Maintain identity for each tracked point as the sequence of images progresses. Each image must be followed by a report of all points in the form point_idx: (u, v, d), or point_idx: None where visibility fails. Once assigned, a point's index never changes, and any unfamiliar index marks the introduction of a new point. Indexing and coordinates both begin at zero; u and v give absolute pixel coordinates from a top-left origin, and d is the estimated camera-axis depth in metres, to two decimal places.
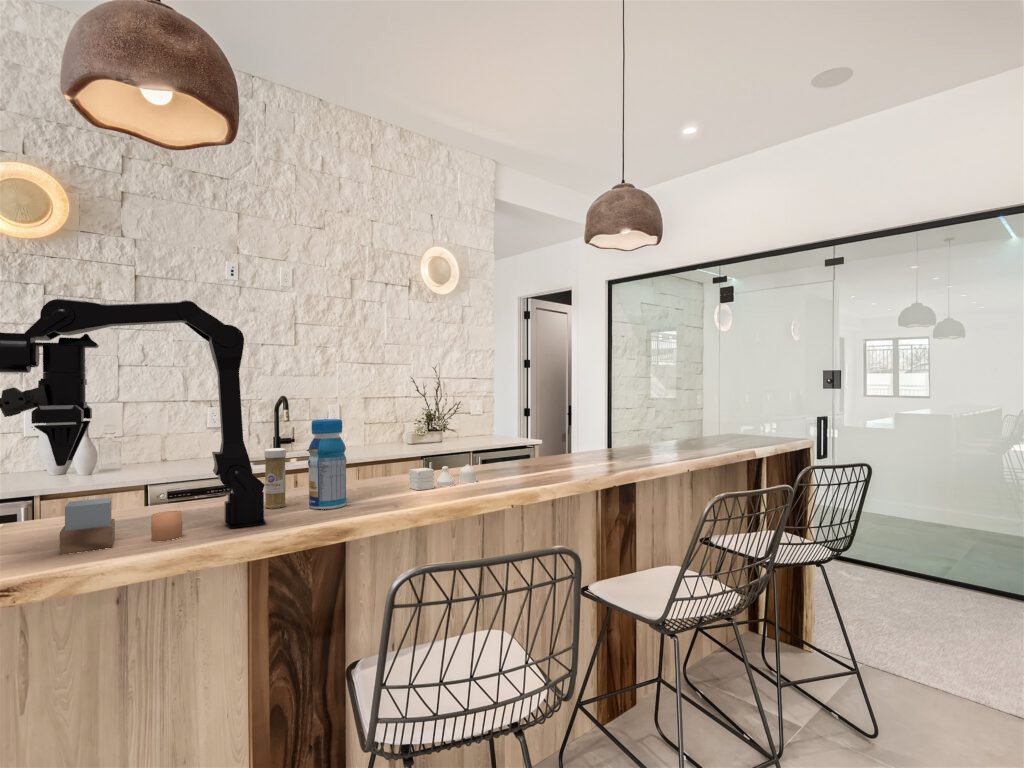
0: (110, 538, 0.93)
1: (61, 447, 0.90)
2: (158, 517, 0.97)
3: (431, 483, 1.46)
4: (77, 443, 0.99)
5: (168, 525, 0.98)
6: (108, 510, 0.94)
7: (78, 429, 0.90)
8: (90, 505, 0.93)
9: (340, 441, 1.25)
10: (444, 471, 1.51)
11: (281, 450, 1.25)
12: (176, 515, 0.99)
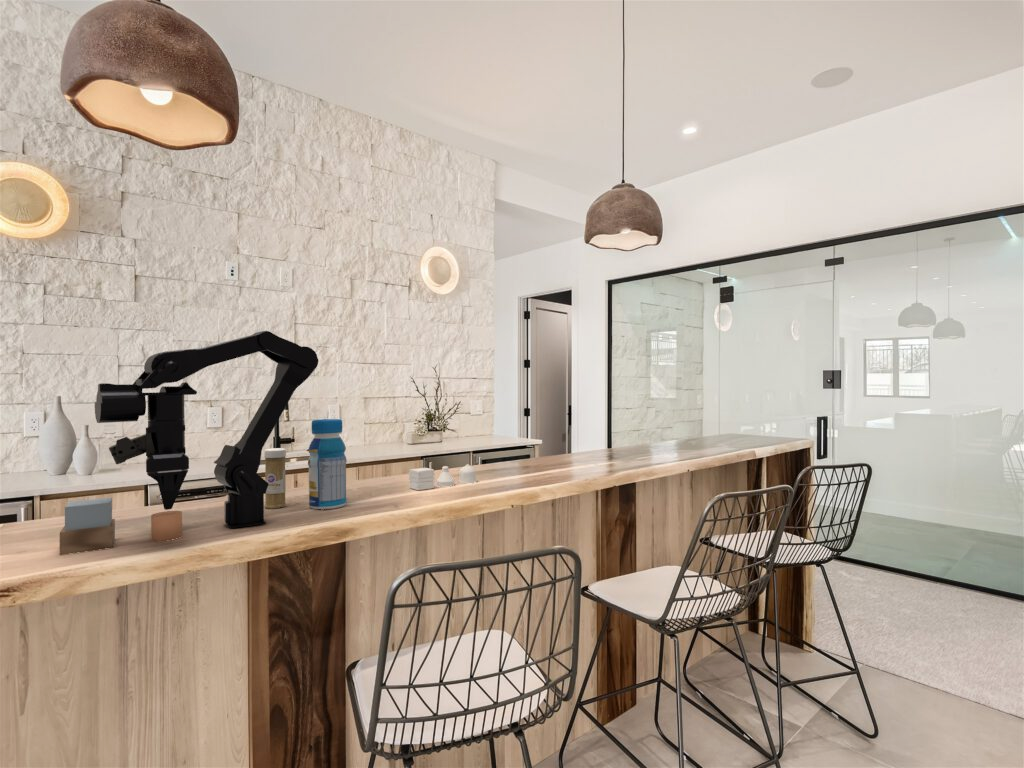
0: (110, 538, 0.93)
1: (169, 492, 0.95)
2: (158, 517, 0.97)
3: (431, 483, 1.46)
4: None
5: (168, 525, 0.98)
6: (108, 510, 0.94)
7: (184, 475, 0.96)
8: (90, 505, 0.93)
9: (340, 441, 1.25)
10: (444, 471, 1.51)
11: (281, 450, 1.25)
12: (176, 515, 0.99)
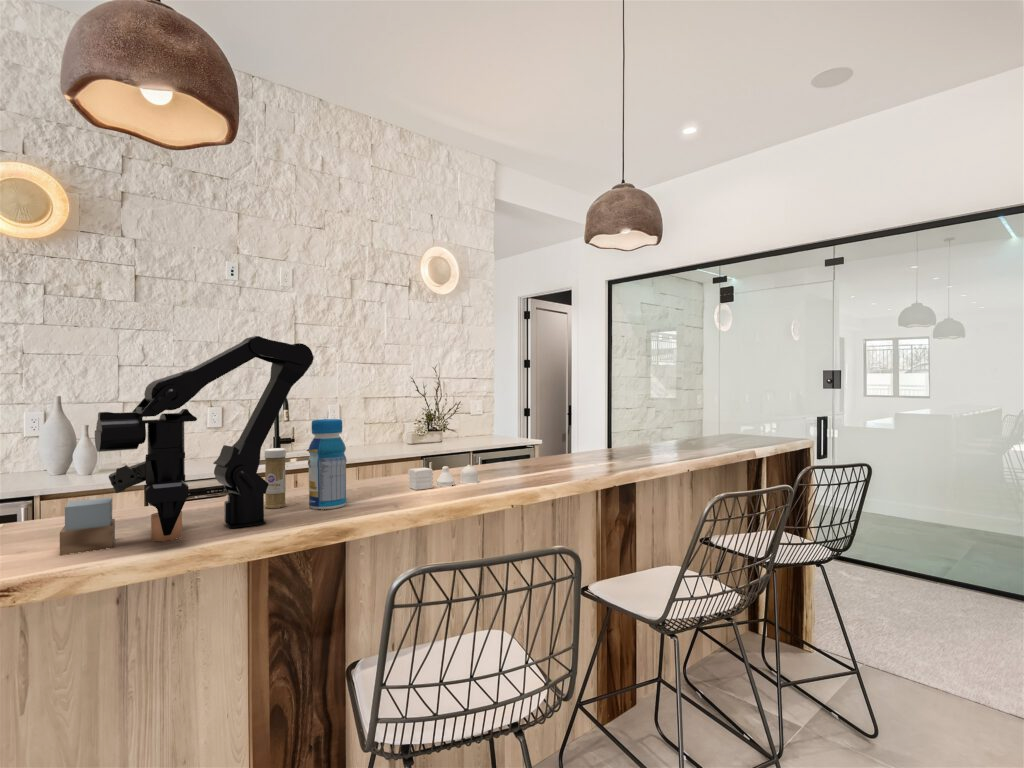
0: (110, 538, 0.93)
1: (168, 518, 0.97)
2: (158, 517, 0.97)
3: (430, 483, 1.46)
4: None
5: None
6: (108, 510, 0.94)
7: (183, 501, 0.97)
8: (90, 505, 0.93)
9: (340, 441, 1.25)
10: (444, 471, 1.51)
11: (281, 450, 1.25)
12: None
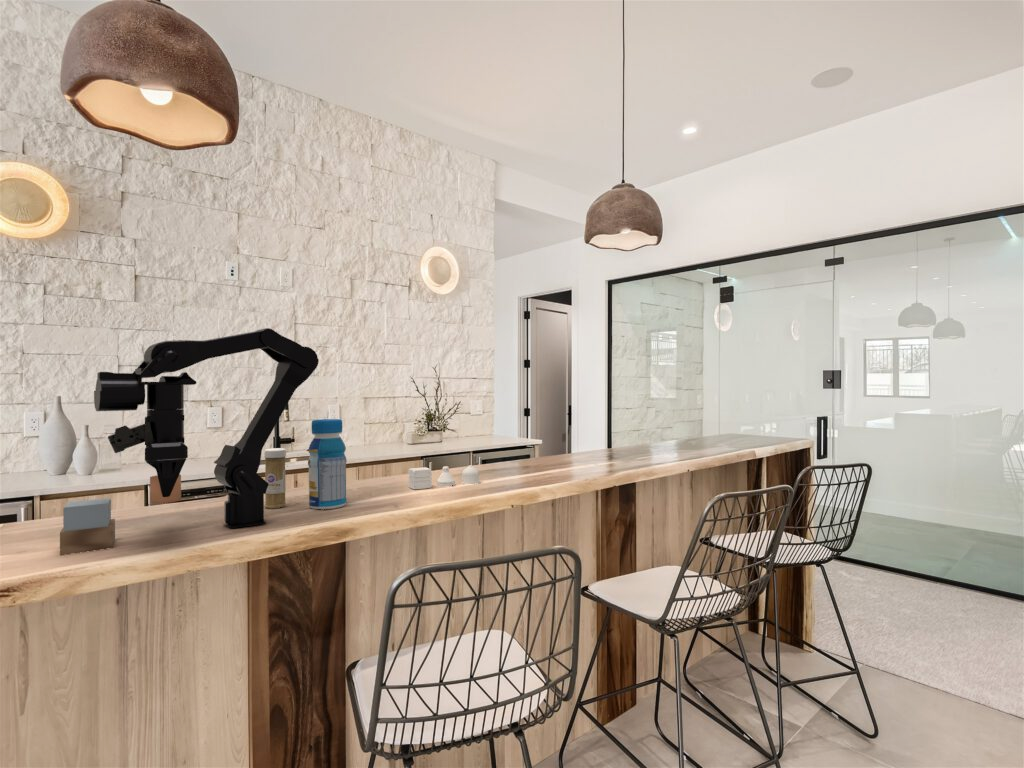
0: (110, 538, 0.93)
1: (167, 480, 0.97)
2: (157, 478, 0.97)
3: (428, 483, 1.46)
4: None
5: None
6: (107, 511, 0.93)
7: (182, 463, 0.97)
8: (89, 505, 0.92)
9: (340, 441, 1.25)
10: (444, 471, 1.50)
11: (281, 450, 1.25)
12: None
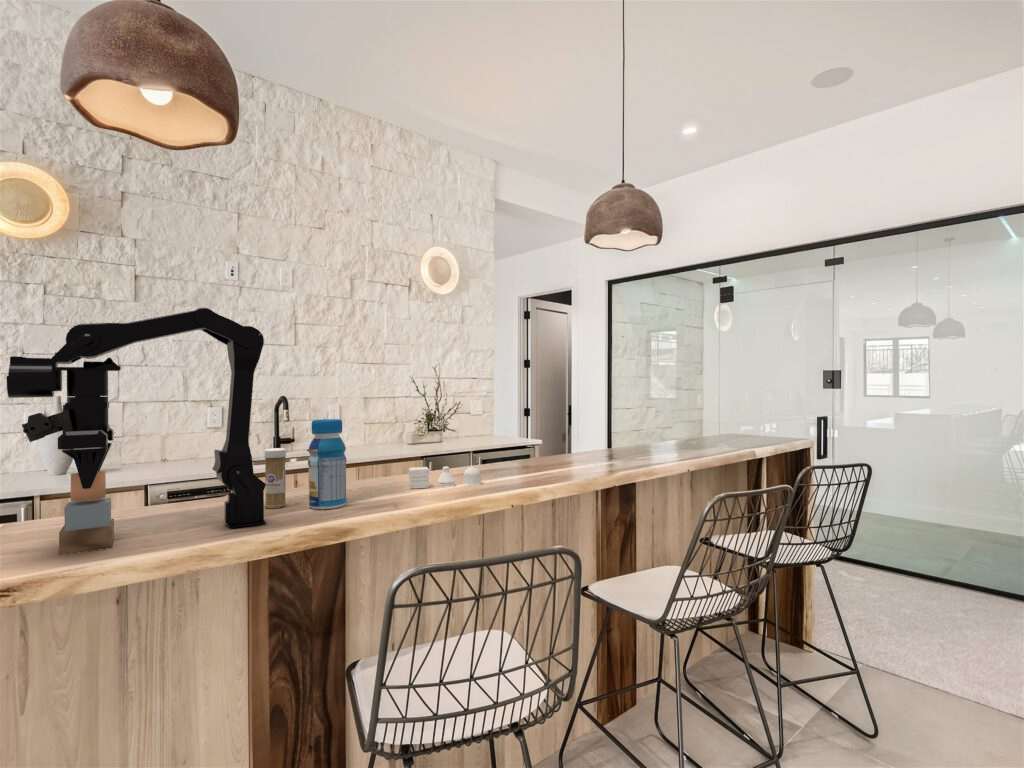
0: (110, 538, 0.93)
1: (87, 470, 0.92)
2: (77, 475, 0.92)
3: (426, 482, 1.47)
4: None
5: None
6: (108, 510, 0.94)
7: (103, 453, 0.92)
8: (90, 505, 0.92)
9: (340, 441, 1.25)
10: (443, 471, 1.50)
11: (281, 450, 1.25)
12: (97, 473, 0.94)
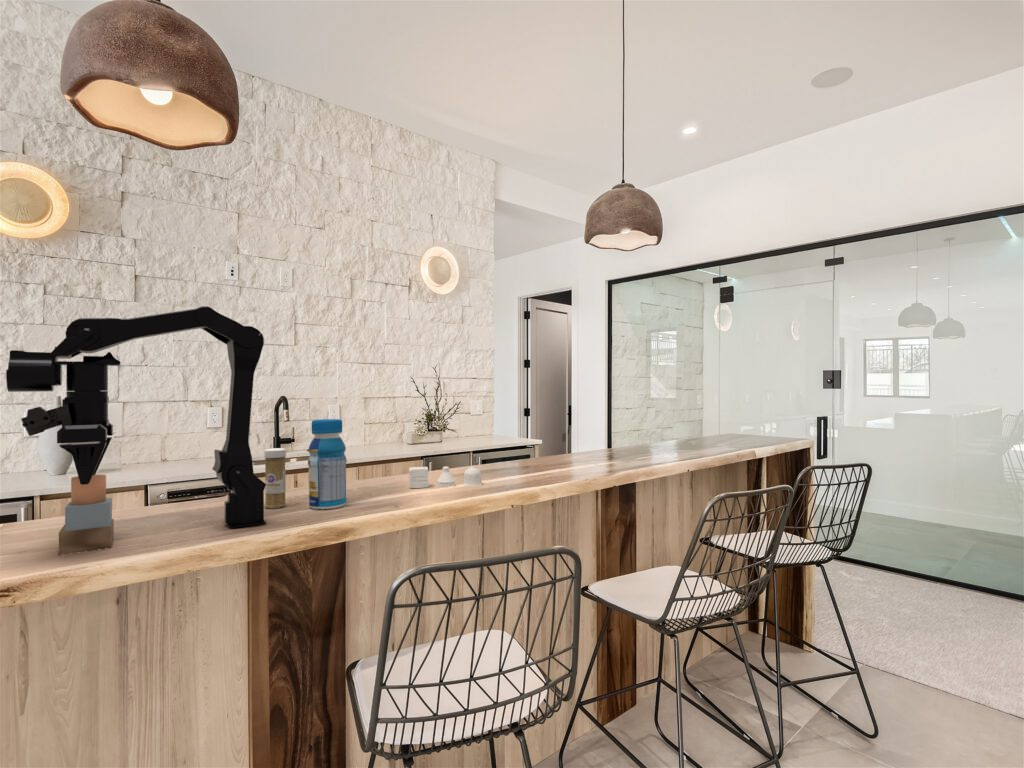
0: (109, 538, 0.93)
1: (85, 466, 0.90)
2: (78, 479, 0.92)
3: (425, 482, 1.47)
4: (99, 460, 0.99)
5: (89, 488, 0.93)
6: (108, 510, 0.94)
7: (102, 448, 0.90)
8: (90, 505, 0.92)
9: (340, 441, 1.25)
10: (443, 471, 1.50)
11: (281, 450, 1.25)
12: (98, 478, 0.94)
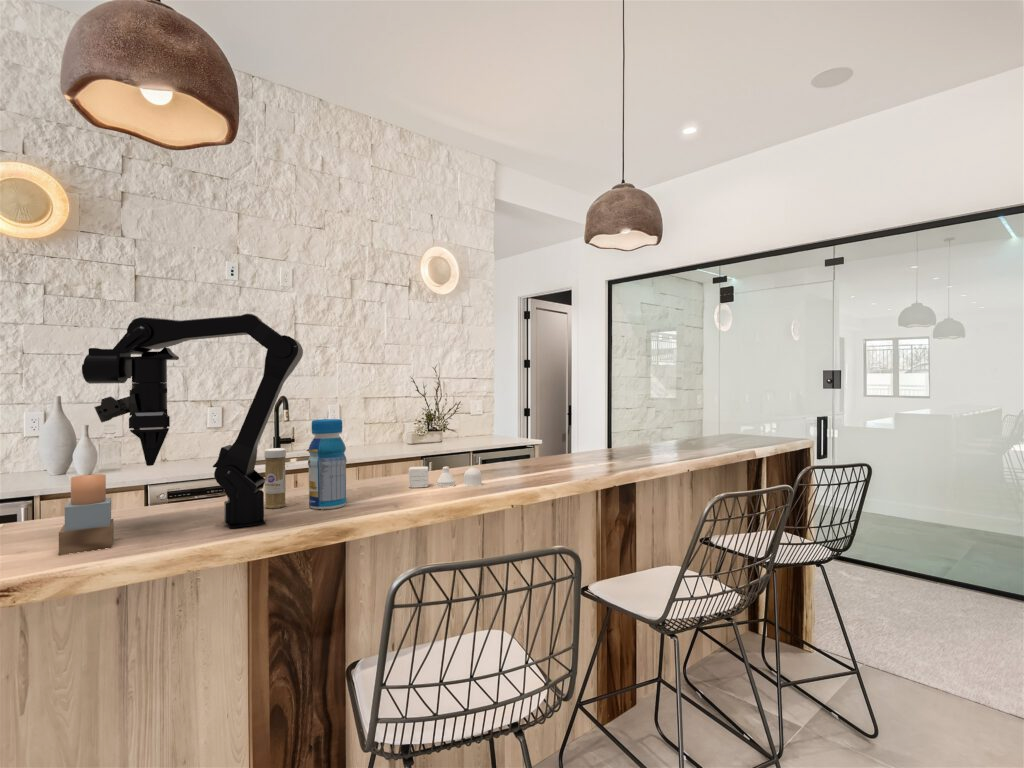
0: (109, 538, 0.93)
1: (151, 449, 1.01)
2: (77, 479, 0.92)
3: (424, 482, 1.48)
4: None
5: (88, 488, 0.93)
6: (108, 510, 0.94)
7: (165, 433, 1.02)
8: (90, 505, 0.92)
9: (340, 441, 1.25)
10: (443, 471, 1.50)
11: (281, 450, 1.25)
12: (97, 478, 0.94)
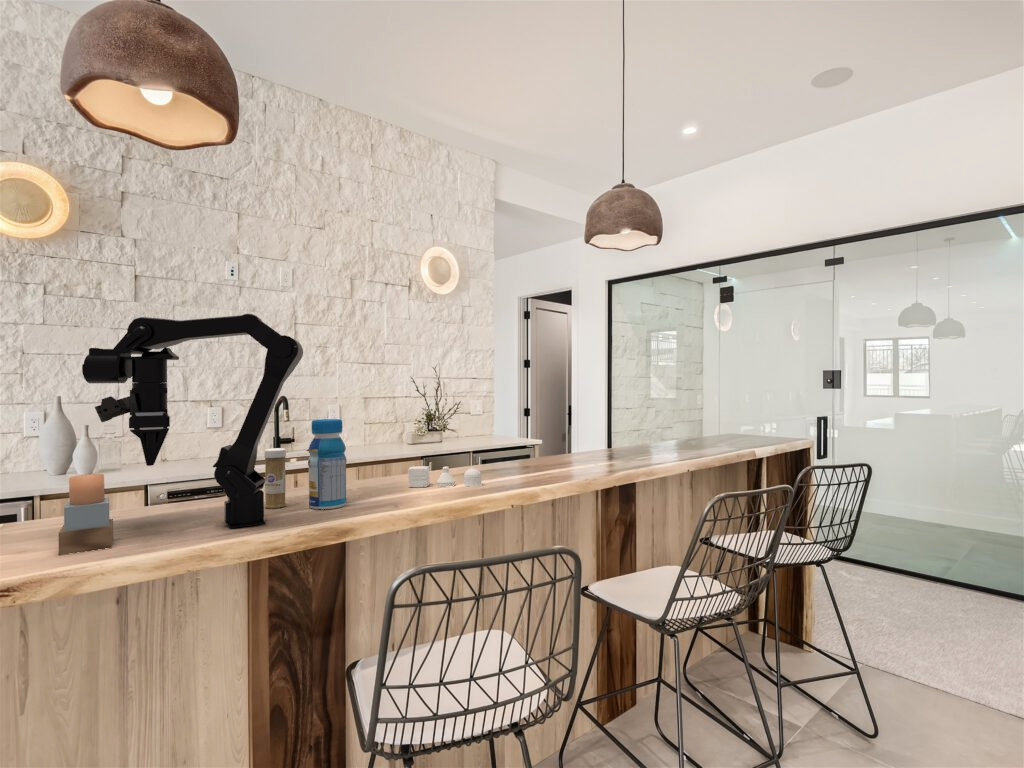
0: (109, 538, 0.93)
1: (151, 449, 1.01)
2: (76, 479, 0.92)
3: (423, 482, 1.48)
4: None
5: (88, 488, 0.93)
6: (107, 510, 0.94)
7: (166, 433, 1.02)
8: (89, 505, 0.92)
9: (340, 441, 1.25)
10: (443, 471, 1.50)
11: (281, 450, 1.25)
12: (97, 478, 0.94)
